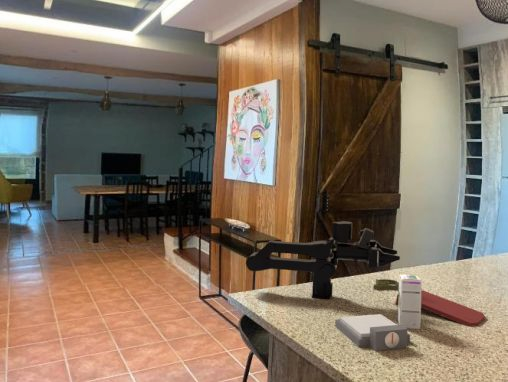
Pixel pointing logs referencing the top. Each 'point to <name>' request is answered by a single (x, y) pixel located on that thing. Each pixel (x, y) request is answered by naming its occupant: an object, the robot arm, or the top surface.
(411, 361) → the top surface
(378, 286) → the cookie cutter
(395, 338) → the kitchen scale
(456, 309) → the red wedge doorstop
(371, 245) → the robot arm
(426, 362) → the top surface
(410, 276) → the syrup box
